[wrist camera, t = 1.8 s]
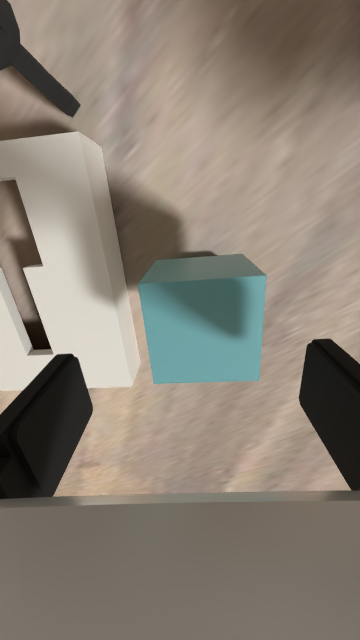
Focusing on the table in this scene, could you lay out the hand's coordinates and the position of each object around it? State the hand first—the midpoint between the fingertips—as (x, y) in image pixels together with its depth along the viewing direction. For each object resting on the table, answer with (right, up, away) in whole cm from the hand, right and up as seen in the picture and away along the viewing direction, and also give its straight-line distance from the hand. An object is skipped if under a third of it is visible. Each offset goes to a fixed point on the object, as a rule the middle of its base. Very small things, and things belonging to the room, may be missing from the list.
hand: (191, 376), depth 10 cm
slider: (+1, +6, +12) cm, 14 cm away
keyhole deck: (-14, +6, +13) cm, 20 cm away
